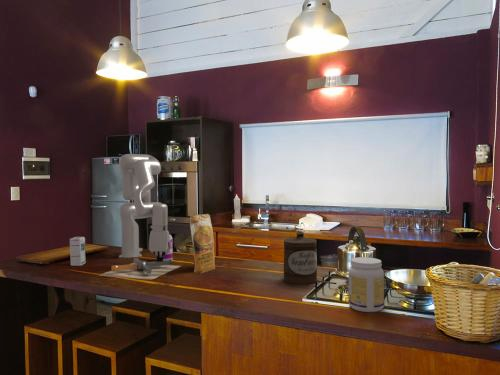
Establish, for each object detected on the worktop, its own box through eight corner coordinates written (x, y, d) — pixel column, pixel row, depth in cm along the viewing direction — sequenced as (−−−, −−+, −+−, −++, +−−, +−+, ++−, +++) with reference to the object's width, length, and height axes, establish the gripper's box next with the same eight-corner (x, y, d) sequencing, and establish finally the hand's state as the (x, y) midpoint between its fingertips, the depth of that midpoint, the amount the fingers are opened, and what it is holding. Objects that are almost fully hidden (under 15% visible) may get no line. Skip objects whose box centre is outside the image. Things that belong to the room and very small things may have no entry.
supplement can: (174, 261, 217) (174, 234, 217) (169, 265, 209) (169, 236, 208) (160, 261, 218) (159, 234, 217) (155, 264, 210) (154, 236, 209)
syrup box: (81, 265, 208) (80, 238, 208) (70, 265, 208) (69, 238, 208) (85, 263, 214) (85, 236, 213) (75, 263, 214) (74, 236, 213)
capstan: (161, 260, 211) (161, 254, 211) (179, 272, 187) (179, 264, 187) (106, 267, 198) (106, 259, 198) (117, 279, 173) (117, 271, 173)
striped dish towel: (133, 264, 210) (133, 261, 210) (181, 268, 201) (181, 265, 201) (98, 277, 183) (98, 274, 183) (151, 282, 175) (151, 279, 175)
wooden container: (290, 285, 169) (290, 234, 168) (279, 277, 183) (279, 229, 182) (322, 283, 173) (322, 232, 172) (308, 274, 187) (308, 228, 186)
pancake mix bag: (185, 274, 189) (184, 215, 188) (209, 266, 205) (209, 212, 205) (196, 276, 186) (195, 216, 185) (220, 267, 202) (219, 213, 201)
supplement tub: (376, 301, 147) (377, 256, 146) (389, 312, 135) (389, 263, 134) (344, 302, 147) (344, 256, 146) (354, 313, 134) (354, 264, 134)
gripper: (142, 228, 198) (142, 264, 198) (169, 230, 193) (169, 267, 194) (151, 226, 205) (151, 261, 206) (176, 228, 200) (176, 264, 201)
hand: (159, 264), depth 200 cm, fingers closed
